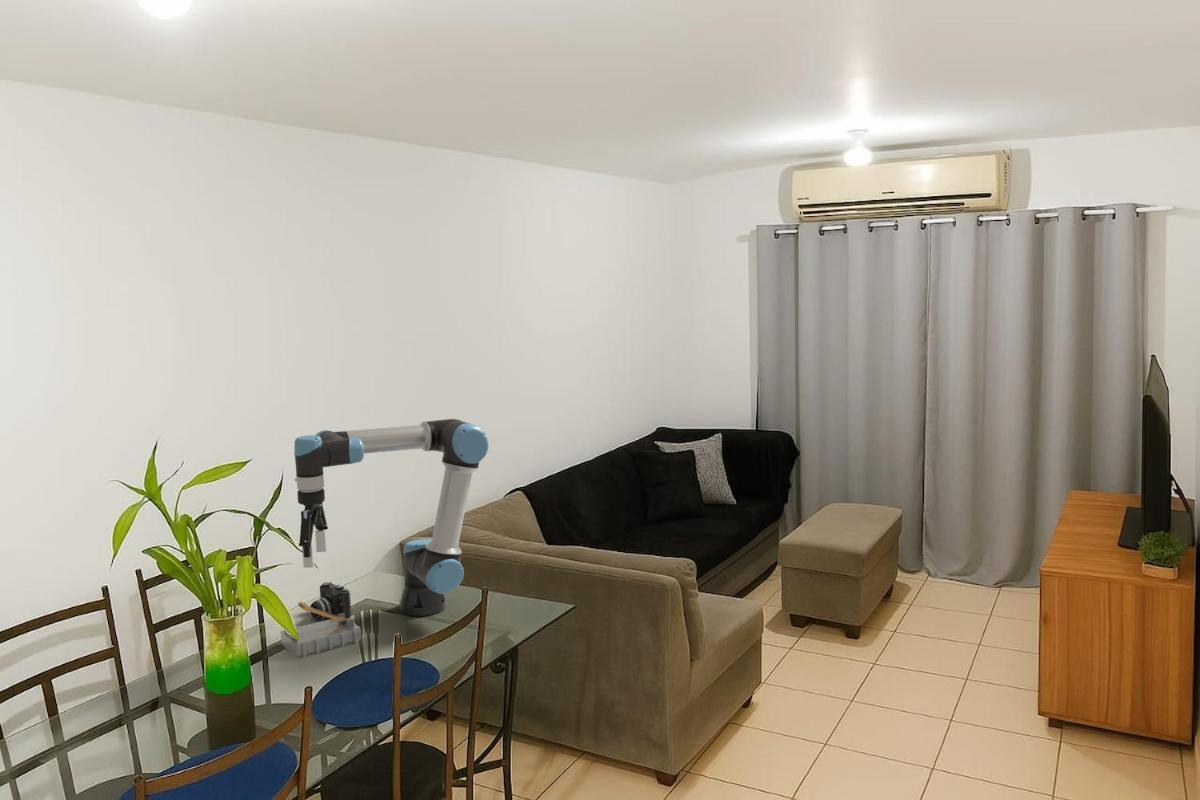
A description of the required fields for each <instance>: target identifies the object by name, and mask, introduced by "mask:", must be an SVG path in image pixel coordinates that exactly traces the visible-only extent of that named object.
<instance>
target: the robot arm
mask: <svg viewBox="0 0 1200 800" xmlns="http://www.w3.org/2000/svg"><path fill="white" fill-rule="evenodd" d="M419 449H421V450H422V451H424V452H433V451H434V452H440V453H443V454H442V459H441V462H442V465H443V466H444V467H445V468H444V469H445V470H444V475H443V479H442V485H441V491H440V495H439V501H438V506H437V511H436V515H435V516H436V517H435V521H434V526H433V532H432V537H431V538H420V539H413V540H410V541H407V542H406V543H405V544H404V547H403V564H404V565H403V569H404V571H403V572H404V574H403V575H404V579H403V580H404V585H403V586H404V587H403V589H402V593H401V596H400V597H401V598H400V600H399V611H400V612H401V613H403V614H405V615H409V616H415V617H419V616H420V617H421V616H431V615H435V614H439V613H441V612H442V611H445V609H446V606H447V605H446V603H447V600H446V597H445V594H449V593H451V592H453V591H454V590H456V589H457V588H458V587H459V586H460V585H461V583H462V582H463V579H464V576H465V573H464V571H465V570H464V567H463V565H462V564H461V559H462V558H461V557H462V553H463V551H462V549H461V548H460V546H459V543H460V537H461V533H462V529H463V528H462V527H463V522H464V518H465V512H466V507H467V504H468V503H467V502H468V496H469V491H470V486H471V480H472V478H473V477H472V476H473V473H474V472H475V471H477V470H478V469H479V467H480V466H479V464H480V462H481V461H482V460H483V459H484V458H485V456H486V455H487V454H488V450H489V439H488V436H487V434H486V433H485V432H484V430H482V428H481V427H478V426H477V425H475V424H472V423H469V422H466V421H463V420H460V419H456V418H447V419H446V418H445V419H437V420H429V421H422V422H421V423H420V424H419V425H407V426H406V425H405V426H393V427H392V426H391V427H379V428H368V429H367V428H366V429H355V430H345V431H342V430H341V431H332V430H328V429H327V430H326V429H325V430H321V431H319V432H317V433H316V434H312V435H311V434H310V435H303V436H302V435H301V436H298V437H297V438H295V440H294V453H293V454H294V460H295V461H294V462H295V471H296V472H295V475H296V477H295V478H294V481H295V482H296V489H297V503H298V504H299V505H303V506H304V509H303V510H301V512H300V533H299V543H298V547H301V548H302V549H301V550H302V561H303V568H305V569H306V568H307V569H308V568H314V567H315V566H314V561H315V560H314V549H313V546H314V545H313V544H312V542H313V541H312V540H313V533H315V534H314V535H315V549H316V550H315V551H316V553H326V552H327V544H326V543H327V542H326V540H327V539H326V530H328V528H329V527H328V523H327V518H326V514H325V510H324V506H323V503H324V501H325V499H326V497H325V494H326V493H325V489H324V487H325V479H324V478H325V477H324V468H329V467H336V466H343V465H344V466H345V465H353V464H357V463H361V462H362V461H363V459H364V455H365V454H374V453H384V452H387V453H388V452H396V451H407V450H419ZM314 528H315V529H316V530H315V531H314Z"/></svg>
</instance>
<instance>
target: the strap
mask: <svg viewBox="0 0 1200 800" xmlns="http://www.w3.org/2000/svg"><path fill="white" fill-rule="evenodd" d="M297 606H298V607H299V608H301V609H302V610H303V611H305V612H308V613H311V612H313V613H316V614H319V615H322V616H325V617H328V619H335V620H338V621H341V622H344V623H346V620H348V619H347V618H345V617H343V618H342V617H339V616H336V615H333V614H330V613H327V612H324V611H321V610H318V609H315V608H312V607H310V606H311V605H308V604H307V603H305V602H302V601H299V602H298V603H297Z"/></svg>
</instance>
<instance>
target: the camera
mask: <svg viewBox="0 0 1200 800" xmlns="http://www.w3.org/2000/svg"><path fill="white" fill-rule="evenodd" d="M319 597H320V598H318V599H316V600H314V601H313V602H312V603H311V604H310V605H309V606H310V607H312V608H315V609H318V610H321V611H324V612H327V613H330V614H333V615H336V616H338V614H341V613H344V614H345V617H346V618H347V619H348V618H350V617H351V618H352V605H351V602H352V601H351V593H350V590H349V589H347V588H345V586H343V585H340V584H334V583H333V582H332V581H329V582H328V581H327V582H323V583H322V584H321V585H319ZM310 615H311V617H312V619H314V620H315V621H324V620H329V618H328V617H325V616H322V615H319V614H316V613H313V612H310ZM351 618H350V619H351Z"/></svg>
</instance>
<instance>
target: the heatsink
mask: <svg viewBox="0 0 1200 800" xmlns="http://www.w3.org/2000/svg"><path fill="white" fill-rule="evenodd" d="M338 616H339V617H342V618H343V617H345V614H344V613H341V614H338ZM345 618H346V617H345ZM354 622H355V621H354V619H353V618H350V619H348V620H346V623H344V622H341V621H338V620H335V619H331V618H328V619H324V620H320V621H317V622H313V623H310V624H306V625H302V626H298V627H295V628H296V630H297V633H298V635H299V640H296V639H294V638H293V637H291V636H290V635H289V634H288V633H287V632H286V631H285V630H284V629H283V630H281V631H280V644H281V645H282V647H284V648H285V649H286V651H287V650H288V651H289V652H290V653H291V654H292V655H293V656H294V657H296V658H300V657H303V658H305V657H307V656H308V655H311V654H310V653H312V654H314V653H315V652H316V654H320V652H322V651H323V652H324V651H326V650H328V651H331V650H333V649H334V648H337V647H345V646H346V645H349V644H352V643H354V644H357V643H358V642H359V641H362V633H361V632H362V630H361V626H359V625H357V624H356V623H354ZM307 654H308V655H307Z"/></svg>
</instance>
